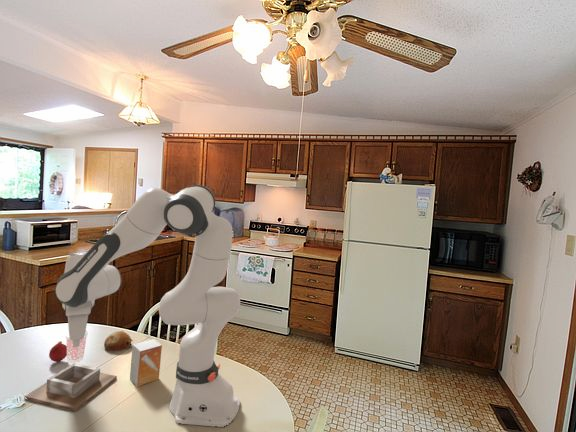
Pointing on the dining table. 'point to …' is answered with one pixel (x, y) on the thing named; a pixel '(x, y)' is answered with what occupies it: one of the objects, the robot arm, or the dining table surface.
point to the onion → (58, 352)
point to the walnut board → (71, 387)
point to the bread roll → (117, 341)
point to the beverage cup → (75, 349)
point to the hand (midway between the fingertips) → (76, 340)
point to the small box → (145, 362)
